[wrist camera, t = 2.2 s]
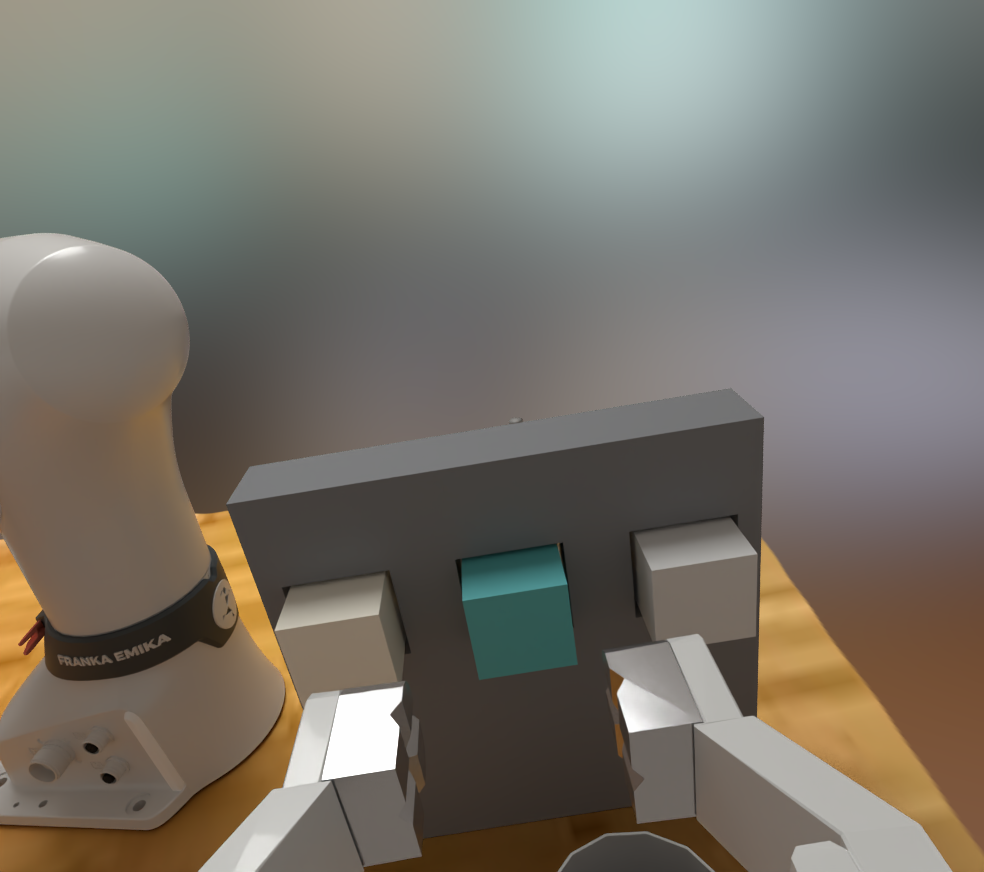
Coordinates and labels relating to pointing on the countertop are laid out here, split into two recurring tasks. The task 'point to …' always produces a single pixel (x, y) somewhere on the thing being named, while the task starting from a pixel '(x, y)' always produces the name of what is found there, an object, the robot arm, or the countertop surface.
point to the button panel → (505, 527)
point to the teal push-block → (518, 611)
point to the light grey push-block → (695, 580)
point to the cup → (633, 855)
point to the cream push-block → (342, 634)
